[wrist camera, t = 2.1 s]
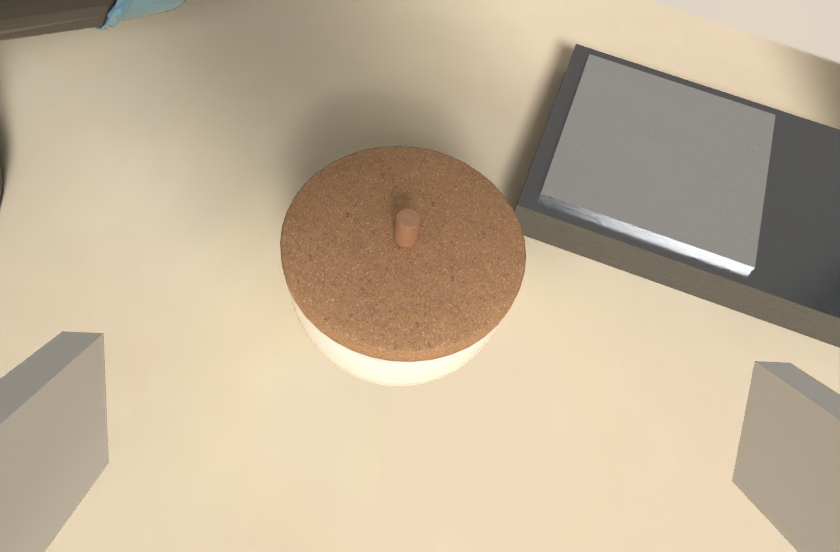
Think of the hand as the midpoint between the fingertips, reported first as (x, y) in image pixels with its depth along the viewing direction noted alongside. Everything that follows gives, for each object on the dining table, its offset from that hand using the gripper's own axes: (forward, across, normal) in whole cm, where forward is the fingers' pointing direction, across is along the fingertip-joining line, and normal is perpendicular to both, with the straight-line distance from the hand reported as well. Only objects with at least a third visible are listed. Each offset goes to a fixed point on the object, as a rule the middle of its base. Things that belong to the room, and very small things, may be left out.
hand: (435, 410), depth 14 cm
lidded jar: (+23, 0, -5) cm, 24 cm away
